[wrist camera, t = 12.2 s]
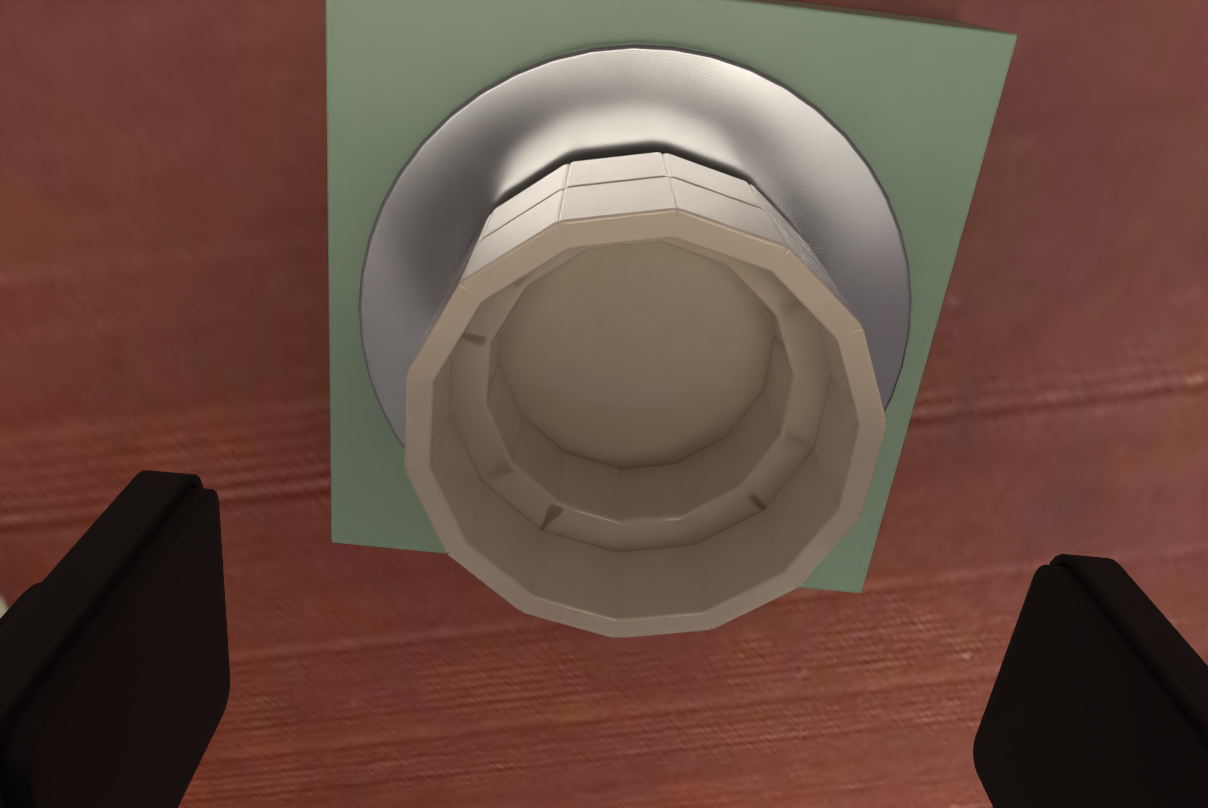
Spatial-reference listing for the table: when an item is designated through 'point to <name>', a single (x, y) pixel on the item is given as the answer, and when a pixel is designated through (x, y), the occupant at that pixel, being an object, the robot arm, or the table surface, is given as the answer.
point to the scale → (652, 15)
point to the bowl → (641, 401)
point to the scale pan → (620, 128)
